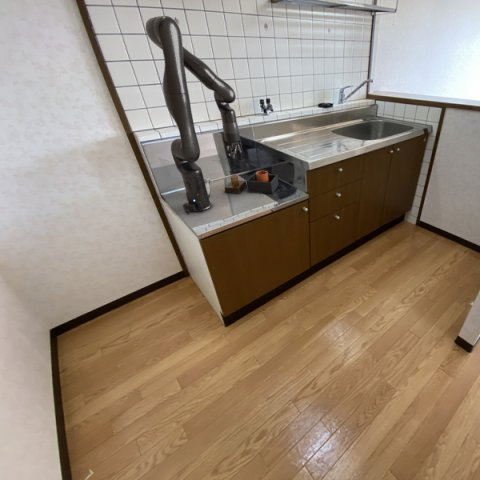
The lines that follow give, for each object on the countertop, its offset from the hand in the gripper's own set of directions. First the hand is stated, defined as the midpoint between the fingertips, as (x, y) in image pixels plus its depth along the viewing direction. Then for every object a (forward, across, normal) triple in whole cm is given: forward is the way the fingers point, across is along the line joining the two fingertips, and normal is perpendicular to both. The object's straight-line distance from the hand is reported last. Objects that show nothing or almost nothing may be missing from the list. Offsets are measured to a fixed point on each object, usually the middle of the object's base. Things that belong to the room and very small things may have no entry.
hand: (236, 162), depth 146 cm
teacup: (+16, +11, -17) cm, 26 cm away
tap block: (+15, 0, -3) cm, 16 cm away
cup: (+15, -2, +12) cm, 20 cm away
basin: (+15, -2, +12) cm, 20 cm away
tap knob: (+12, 0, -3) cm, 13 cm away
